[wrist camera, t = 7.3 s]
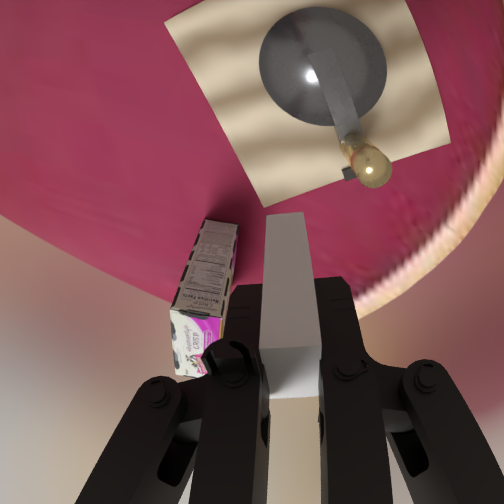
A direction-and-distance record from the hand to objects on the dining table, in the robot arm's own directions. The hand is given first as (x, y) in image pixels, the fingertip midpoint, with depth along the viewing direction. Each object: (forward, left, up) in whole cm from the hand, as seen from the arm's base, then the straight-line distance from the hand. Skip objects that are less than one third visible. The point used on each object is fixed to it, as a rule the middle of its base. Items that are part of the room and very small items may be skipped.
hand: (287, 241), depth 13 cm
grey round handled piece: (-2, +7, -20) cm, 21 cm away
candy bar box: (+12, -14, -23) cm, 29 cm away
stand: (-5, +7, -22) cm, 24 cm away
